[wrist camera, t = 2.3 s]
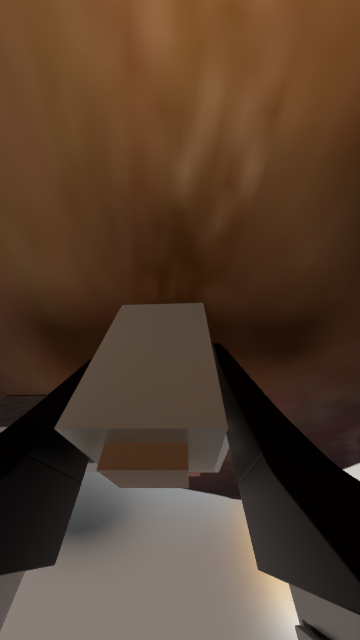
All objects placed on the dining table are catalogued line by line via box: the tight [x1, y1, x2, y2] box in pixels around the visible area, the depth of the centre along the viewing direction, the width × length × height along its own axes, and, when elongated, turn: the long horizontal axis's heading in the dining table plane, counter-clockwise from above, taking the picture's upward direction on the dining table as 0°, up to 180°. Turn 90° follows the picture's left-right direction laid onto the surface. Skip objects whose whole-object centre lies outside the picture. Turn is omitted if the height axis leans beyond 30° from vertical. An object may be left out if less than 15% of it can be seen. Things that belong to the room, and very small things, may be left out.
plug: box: [54, 303, 228, 488], centre depth 8 cm, size 4×4×7 cm
